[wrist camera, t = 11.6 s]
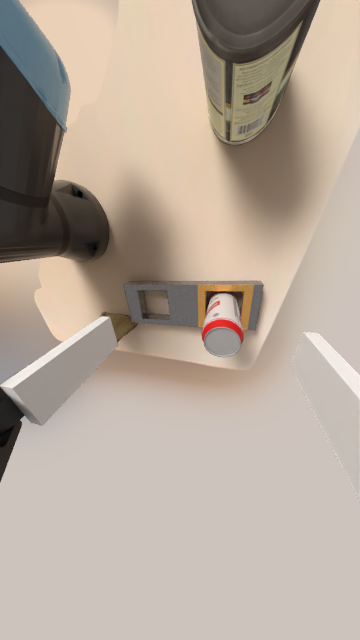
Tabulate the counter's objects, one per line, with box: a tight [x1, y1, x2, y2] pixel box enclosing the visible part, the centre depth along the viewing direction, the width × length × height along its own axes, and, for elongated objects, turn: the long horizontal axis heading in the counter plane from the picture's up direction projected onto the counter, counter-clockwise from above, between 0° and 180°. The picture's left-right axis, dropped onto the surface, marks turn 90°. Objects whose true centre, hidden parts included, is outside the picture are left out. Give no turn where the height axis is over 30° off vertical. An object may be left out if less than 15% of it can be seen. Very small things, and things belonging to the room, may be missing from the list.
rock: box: [100, 312, 138, 342], centre depth 43 cm, size 11×9×10 cm
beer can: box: [202, 291, 243, 357], centre depth 29 cm, size 6×6×16 cm
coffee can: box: [192, 0, 320, 145], centre depth 16 cm, size 10×10×14 cm
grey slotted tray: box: [124, 281, 263, 331], centre depth 36 cm, size 30×10×3 cm, turn 94°
